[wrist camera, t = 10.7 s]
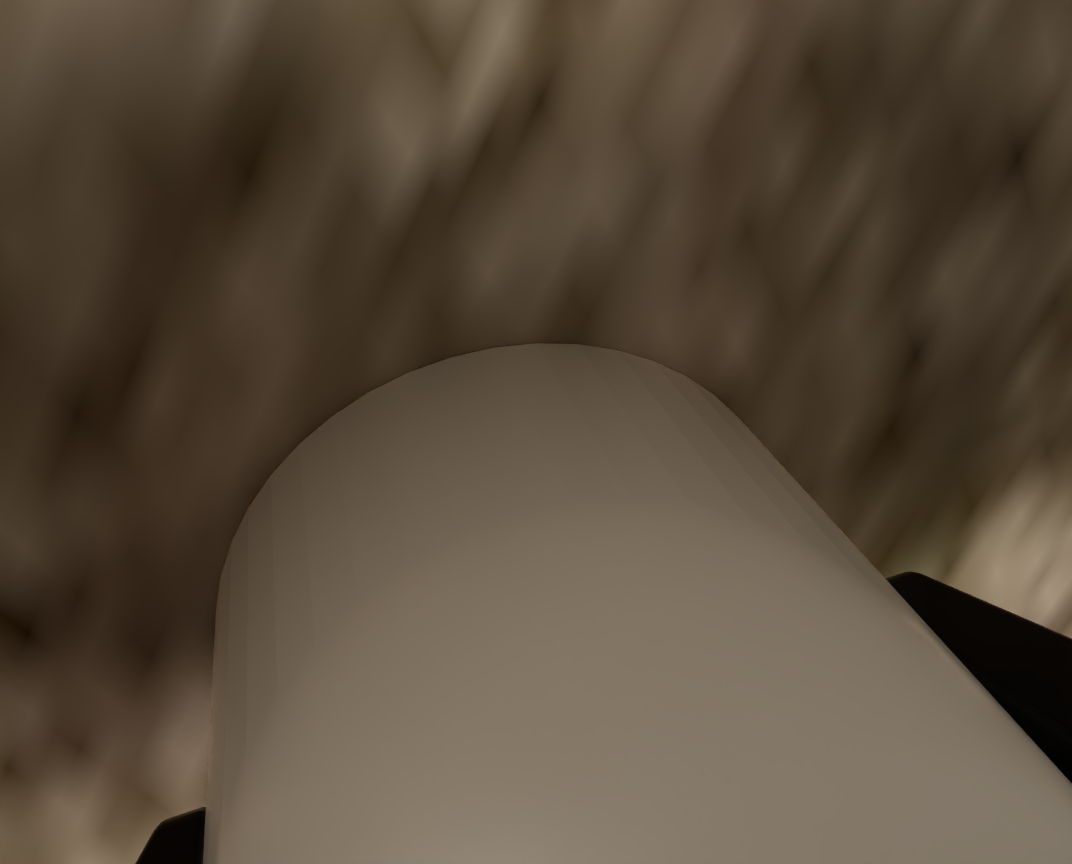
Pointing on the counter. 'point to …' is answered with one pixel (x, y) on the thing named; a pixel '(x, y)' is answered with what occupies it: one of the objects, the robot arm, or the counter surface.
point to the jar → (586, 647)
